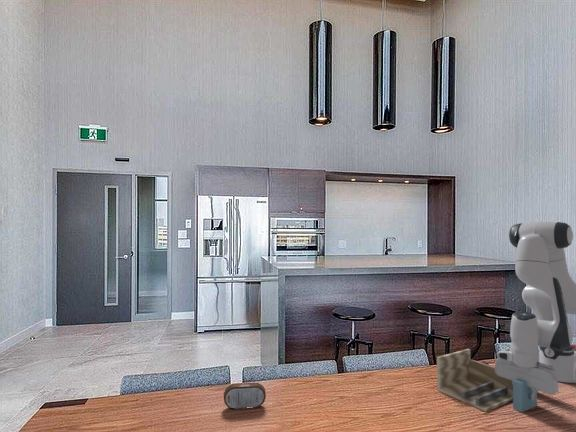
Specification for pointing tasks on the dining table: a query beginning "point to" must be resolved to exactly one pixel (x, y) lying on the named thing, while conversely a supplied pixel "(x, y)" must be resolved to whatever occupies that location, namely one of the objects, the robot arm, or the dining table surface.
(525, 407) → the light blue flat block
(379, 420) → the dining table surface
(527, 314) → the robot arm
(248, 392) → the tin
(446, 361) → the rack
